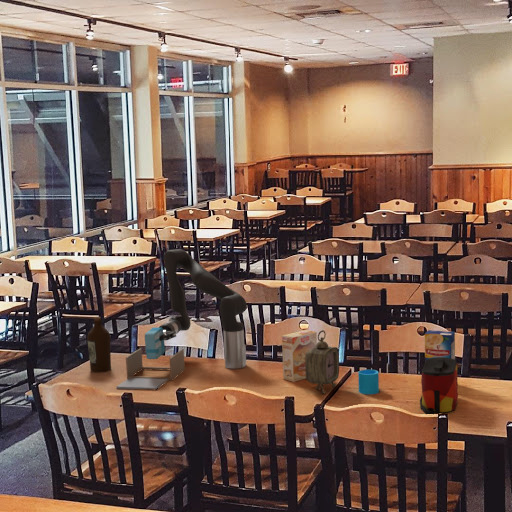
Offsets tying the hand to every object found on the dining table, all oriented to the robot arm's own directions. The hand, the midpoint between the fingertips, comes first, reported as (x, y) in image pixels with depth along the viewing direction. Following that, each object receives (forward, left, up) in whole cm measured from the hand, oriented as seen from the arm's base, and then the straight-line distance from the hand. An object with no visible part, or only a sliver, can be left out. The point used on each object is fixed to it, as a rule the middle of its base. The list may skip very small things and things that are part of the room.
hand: (154, 338), depth 392 cm
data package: (0, 0, -8) cm, 8 cm away
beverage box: (-126, +3, -17) cm, 127 cm away
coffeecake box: (-66, -3, -17) cm, 68 cm away
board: (0, +17, -17) cm, 24 cm away
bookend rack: (0, 0, -17) cm, 17 cm away
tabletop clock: (-79, +16, -17) cm, 82 cm away
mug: (-98, +14, -17) cm, 100 cm away
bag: (-126, +31, -17) cm, 131 cm away
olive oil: (+30, -6, -17) cm, 35 cm away
